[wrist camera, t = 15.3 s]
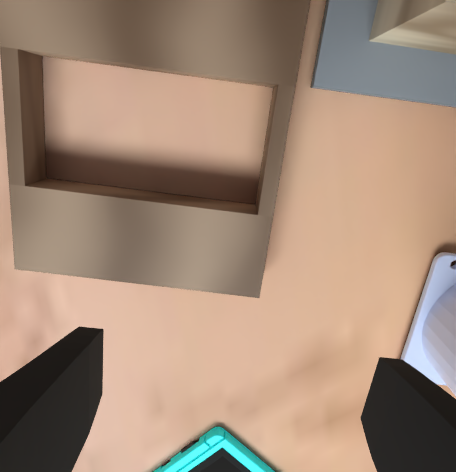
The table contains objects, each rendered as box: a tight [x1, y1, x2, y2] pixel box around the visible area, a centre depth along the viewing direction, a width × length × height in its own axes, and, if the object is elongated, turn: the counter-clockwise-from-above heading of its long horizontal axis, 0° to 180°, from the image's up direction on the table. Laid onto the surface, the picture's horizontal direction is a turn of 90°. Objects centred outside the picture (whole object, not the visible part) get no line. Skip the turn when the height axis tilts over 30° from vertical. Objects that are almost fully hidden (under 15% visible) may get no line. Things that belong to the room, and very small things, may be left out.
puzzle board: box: [0, 0, 310, 298], centre depth 15 cm, size 12×22×2 cm, turn 173°
